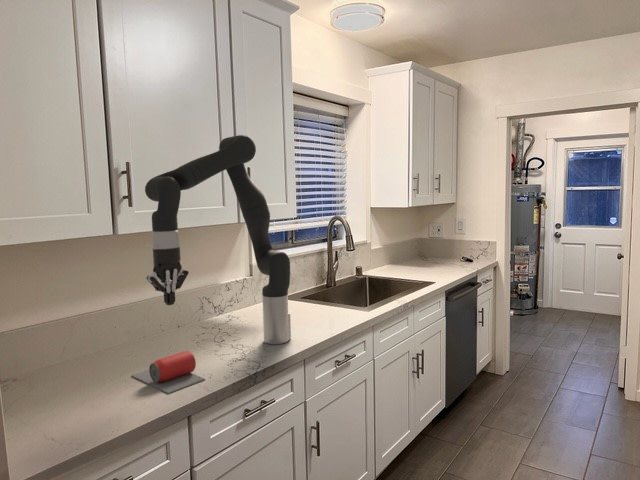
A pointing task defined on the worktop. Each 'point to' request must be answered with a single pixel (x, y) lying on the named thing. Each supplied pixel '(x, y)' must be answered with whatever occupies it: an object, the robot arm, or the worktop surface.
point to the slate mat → (169, 381)
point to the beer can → (172, 366)
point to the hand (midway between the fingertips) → (169, 304)
